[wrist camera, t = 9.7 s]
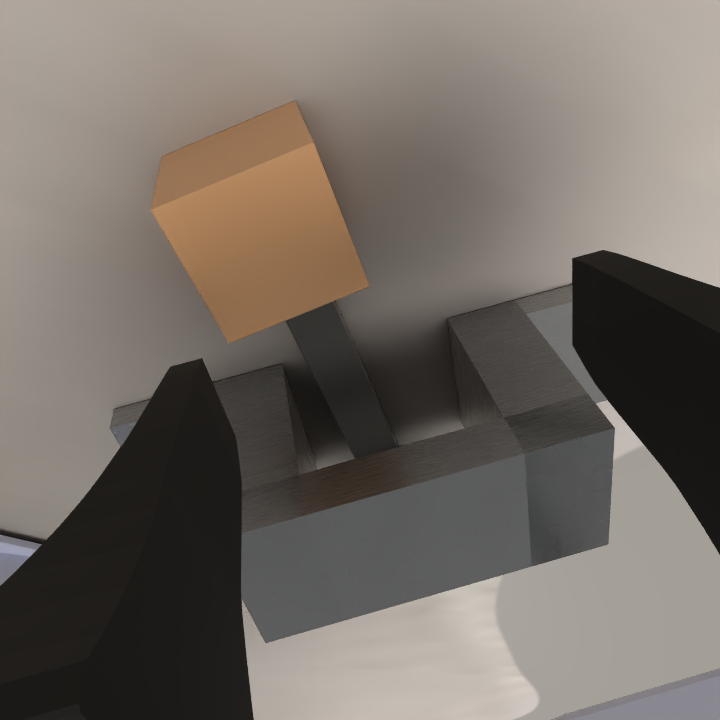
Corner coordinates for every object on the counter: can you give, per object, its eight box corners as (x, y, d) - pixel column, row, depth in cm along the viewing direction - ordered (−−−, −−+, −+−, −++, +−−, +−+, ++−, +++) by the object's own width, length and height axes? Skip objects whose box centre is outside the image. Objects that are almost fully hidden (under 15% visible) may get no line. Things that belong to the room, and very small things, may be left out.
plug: (441, 472, 27) (472, 548, 24) (352, 506, 27) (371, 586, 24) (295, 100, 18) (313, 142, 14) (161, 156, 18) (150, 210, 15)
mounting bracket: (604, 381, 26) (714, 513, 20) (167, 503, 25) (153, 675, 19) (609, 274, 23) (739, 392, 17) (113, 409, 22) (79, 578, 17)
